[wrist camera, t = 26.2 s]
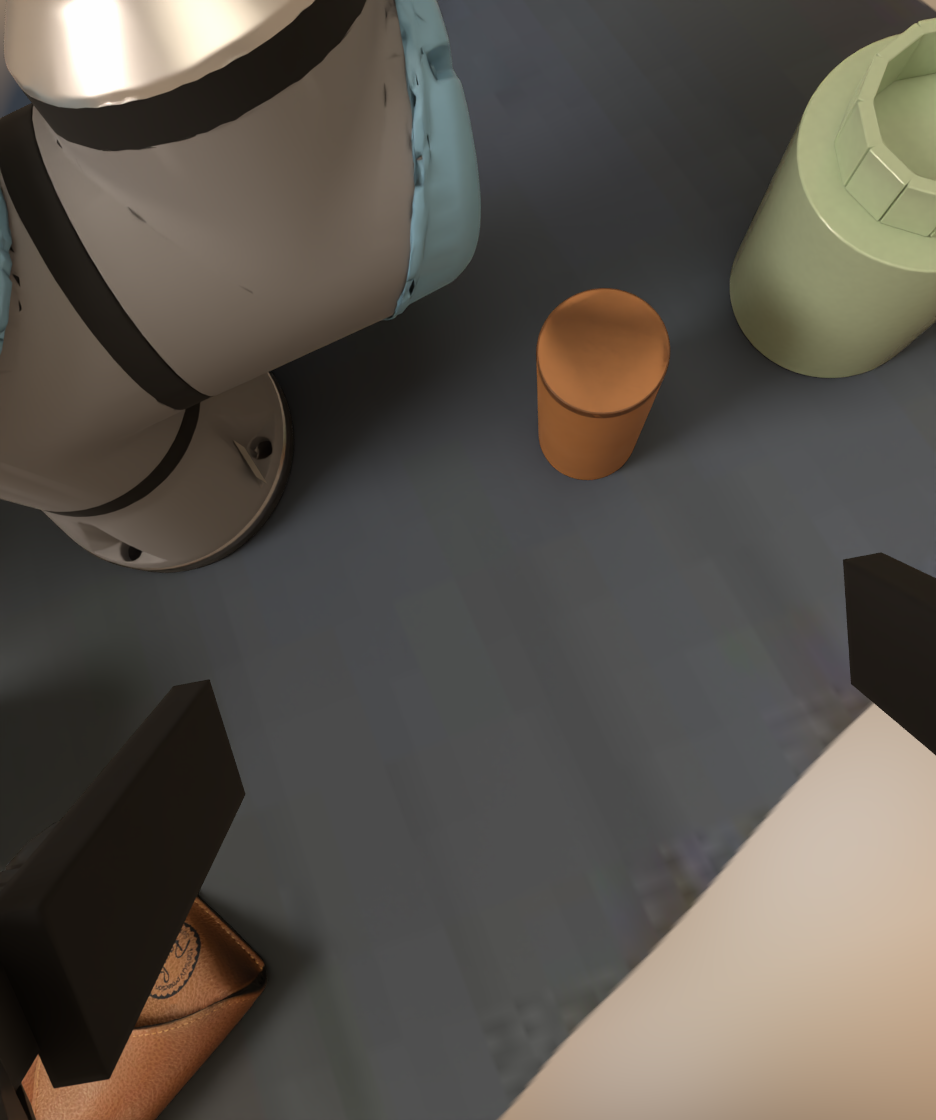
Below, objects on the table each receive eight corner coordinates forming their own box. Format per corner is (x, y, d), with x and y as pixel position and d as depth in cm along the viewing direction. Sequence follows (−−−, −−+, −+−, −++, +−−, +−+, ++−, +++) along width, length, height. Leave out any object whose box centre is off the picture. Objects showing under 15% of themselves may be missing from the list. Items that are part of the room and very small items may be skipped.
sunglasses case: (165, 868, 42) (155, 951, 36) (266, 921, 45) (272, 1007, 39) (-47, 1118, 42) (-94, 1246, 36) (67, 1158, 45) (42, 1283, 38)
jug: (689, 277, 44) (758, 95, 30) (881, 126, 44) (1043, -127, 30) (817, 416, 42) (955, 295, 28) (1017, 260, 42) (1258, 59, 28)
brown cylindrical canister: (519, 426, 44) (509, 342, 32) (594, 367, 44) (612, 262, 32) (579, 499, 43) (592, 441, 31) (656, 439, 43) (698, 358, 31)
